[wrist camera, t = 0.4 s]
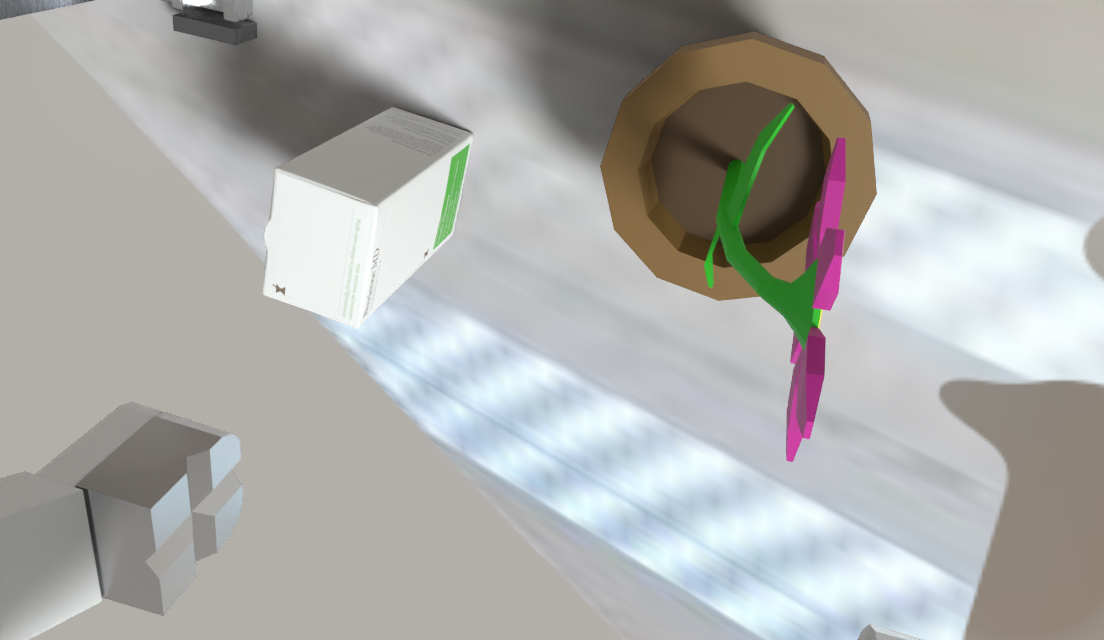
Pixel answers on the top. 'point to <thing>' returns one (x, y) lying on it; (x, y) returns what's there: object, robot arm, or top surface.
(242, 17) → the rail
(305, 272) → the skincare box
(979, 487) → the top surface
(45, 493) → the robot arm
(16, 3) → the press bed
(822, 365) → the flowerpot
